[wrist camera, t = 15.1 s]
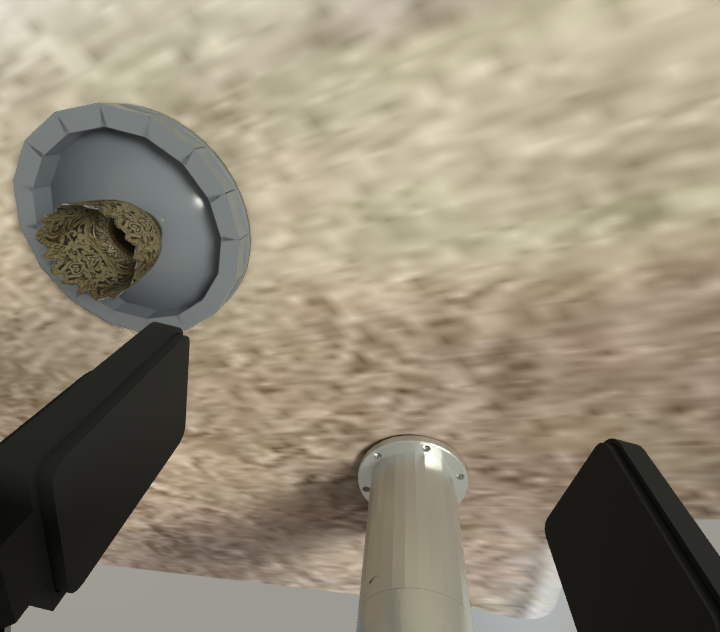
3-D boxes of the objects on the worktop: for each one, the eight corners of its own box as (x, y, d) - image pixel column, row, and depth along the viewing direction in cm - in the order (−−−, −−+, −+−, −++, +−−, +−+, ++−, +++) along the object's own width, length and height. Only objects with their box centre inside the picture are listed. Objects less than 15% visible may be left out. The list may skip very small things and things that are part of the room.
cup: (144, 279, 40) (86, 316, 33) (90, 211, 37) (14, 234, 30) (202, 244, 38) (154, 275, 30) (148, 169, 35) (82, 184, 28)
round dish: (239, 342, 43) (229, 356, 40) (50, 294, 42) (29, 305, 40) (263, 138, 34) (253, 140, 31) (23, 75, 33) (-6, 72, 31)
